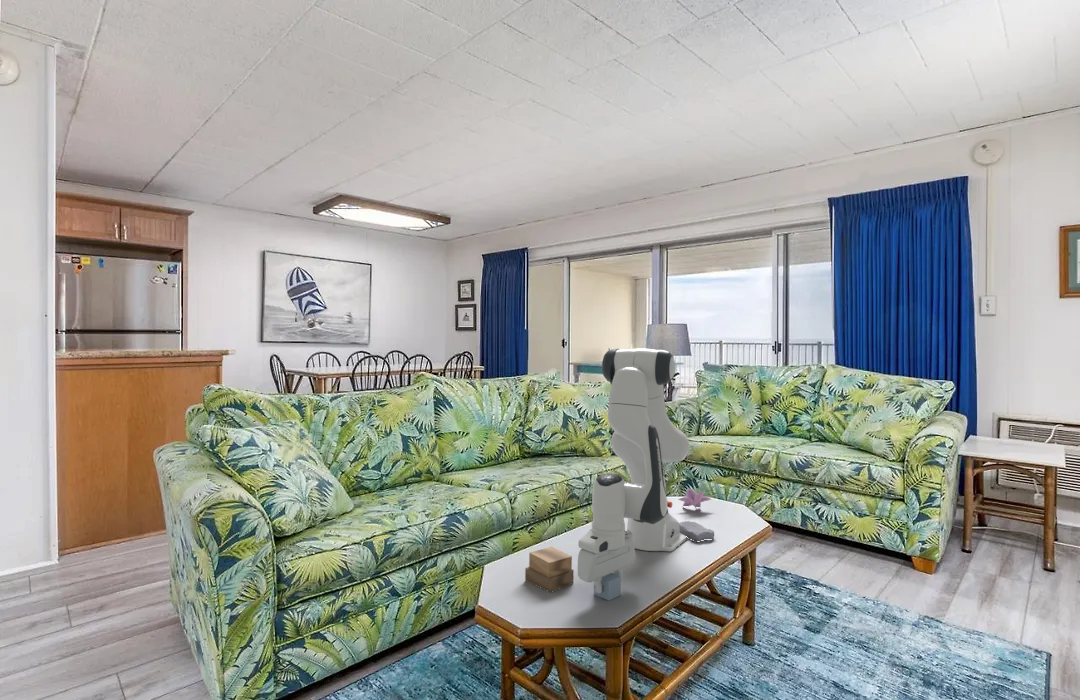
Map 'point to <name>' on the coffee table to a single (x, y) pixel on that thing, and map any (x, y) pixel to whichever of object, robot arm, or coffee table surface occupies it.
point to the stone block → (695, 531)
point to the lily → (694, 498)
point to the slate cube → (610, 586)
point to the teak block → (550, 561)
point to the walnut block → (548, 579)
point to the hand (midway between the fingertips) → (607, 588)
